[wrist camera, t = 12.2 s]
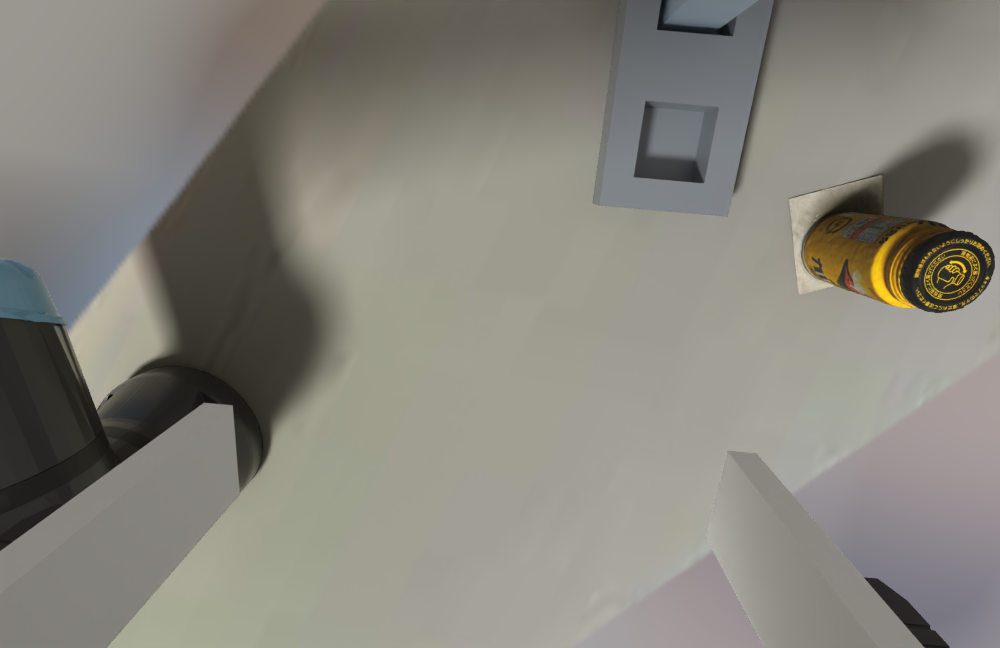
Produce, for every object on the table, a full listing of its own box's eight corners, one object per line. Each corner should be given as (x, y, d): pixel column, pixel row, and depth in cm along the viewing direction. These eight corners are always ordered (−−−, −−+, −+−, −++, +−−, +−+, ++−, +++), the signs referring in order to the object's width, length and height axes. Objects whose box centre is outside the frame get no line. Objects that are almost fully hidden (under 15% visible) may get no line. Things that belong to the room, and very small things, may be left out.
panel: (592, 202, 42) (599, 205, 38) (630, -79, 36) (642, -105, 33) (710, 213, 42) (727, 216, 38) (767, -67, 36) (793, -92, 33)
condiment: (798, 294, 44) (898, 337, 32) (787, 198, 41) (892, 208, 30) (884, 273, 43) (1019, 309, 31) (878, 174, 41) (1022, 174, 29)
